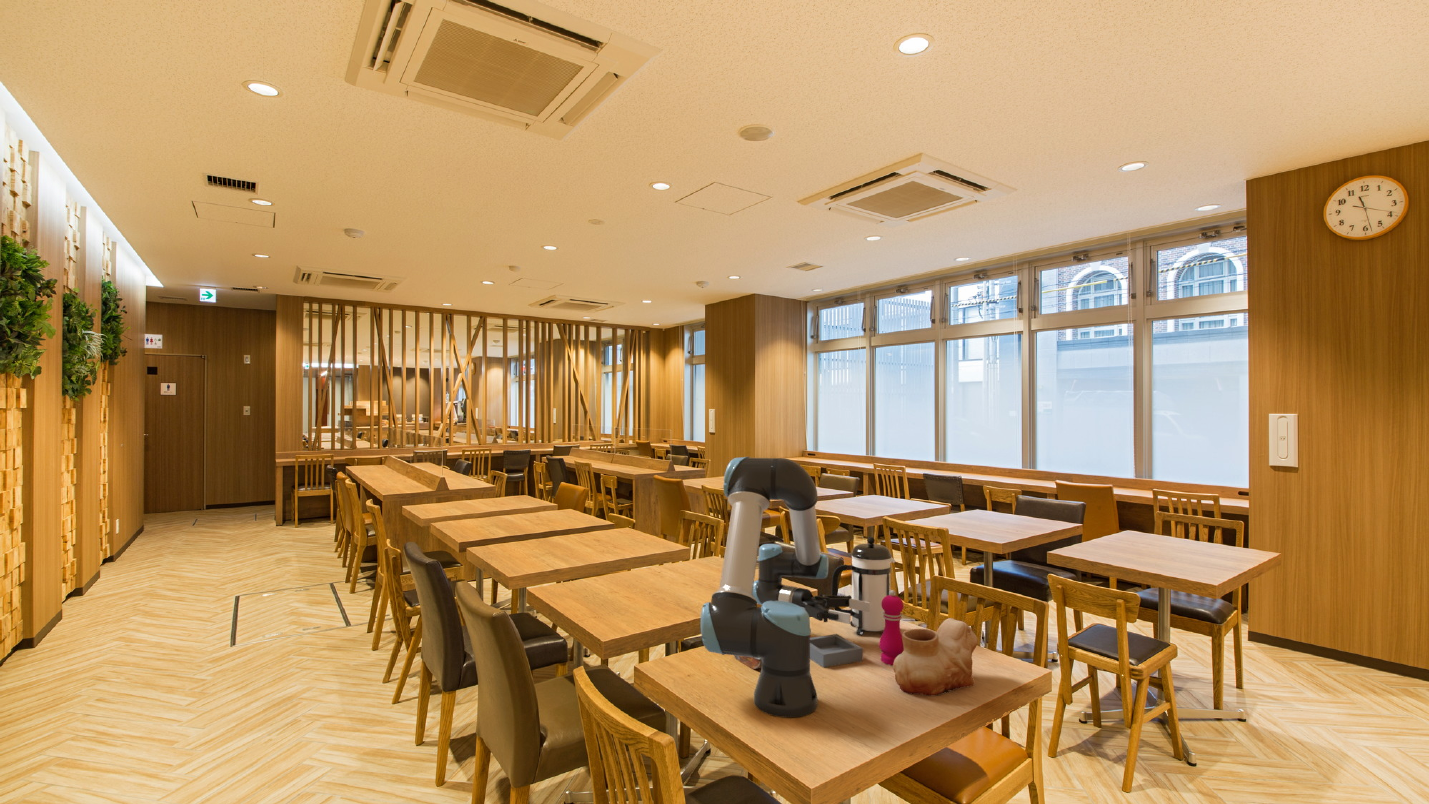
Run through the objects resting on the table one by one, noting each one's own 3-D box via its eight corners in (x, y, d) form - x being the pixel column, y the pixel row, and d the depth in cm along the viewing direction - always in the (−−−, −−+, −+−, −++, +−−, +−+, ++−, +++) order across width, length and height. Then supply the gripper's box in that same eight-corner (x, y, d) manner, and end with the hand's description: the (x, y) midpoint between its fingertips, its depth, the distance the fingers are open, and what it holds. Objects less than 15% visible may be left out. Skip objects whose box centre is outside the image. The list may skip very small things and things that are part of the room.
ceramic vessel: (993, 682, 171) (993, 624, 171) (921, 703, 158) (921, 641, 158) (950, 664, 183) (950, 610, 183) (880, 682, 170) (880, 624, 170)
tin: (730, 655, 188) (730, 626, 188) (739, 653, 190) (739, 624, 190) (759, 674, 175) (760, 642, 175) (769, 671, 177) (769, 640, 177)
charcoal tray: (823, 667, 180) (823, 654, 180) (799, 651, 192) (799, 639, 192) (862, 660, 185) (862, 648, 185) (836, 645, 197) (836, 633, 197)
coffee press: (863, 619, 222) (863, 530, 222) (904, 631, 210) (904, 537, 210) (830, 630, 211) (830, 536, 211) (871, 643, 198) (871, 544, 199)
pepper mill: (903, 657, 188) (903, 587, 188) (907, 666, 181) (908, 594, 181) (877, 656, 188) (877, 586, 189) (881, 665, 181) (881, 593, 182)
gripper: (815, 602, 213) (877, 615, 201) (775, 622, 193) (840, 637, 181) (815, 579, 213) (877, 590, 201) (775, 597, 194) (840, 610, 181)
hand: (860, 613), depth 191 cm, fingers open, 13 cm apart
